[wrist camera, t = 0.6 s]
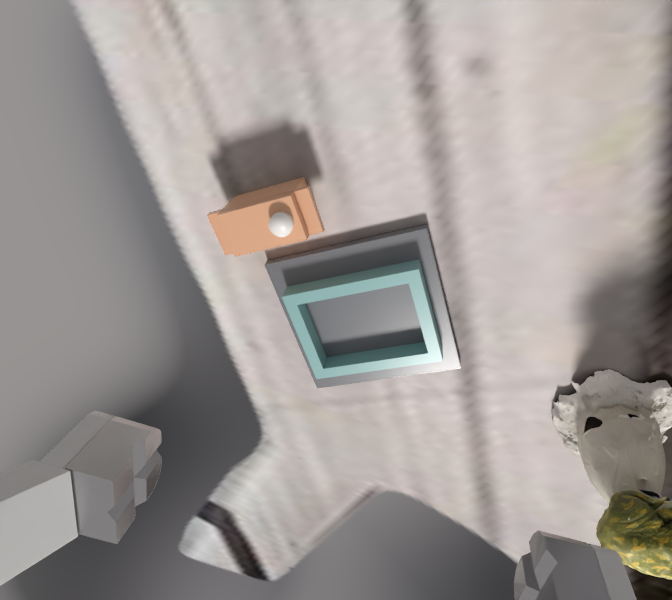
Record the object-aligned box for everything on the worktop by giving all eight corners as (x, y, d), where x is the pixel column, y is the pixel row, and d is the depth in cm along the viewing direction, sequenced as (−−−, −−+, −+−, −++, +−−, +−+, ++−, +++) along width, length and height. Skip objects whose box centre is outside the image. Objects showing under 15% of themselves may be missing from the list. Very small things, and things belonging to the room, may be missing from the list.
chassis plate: (267, 260, 49) (258, 274, 46) (426, 224, 44) (426, 237, 42) (319, 382, 56) (313, 400, 54) (460, 362, 52) (461, 381, 49)
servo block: (223, 198, 46) (199, 222, 42) (317, 172, 44) (303, 195, 39) (240, 236, 48) (218, 263, 43) (331, 214, 45) (319, 240, 41)
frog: (644, 459, 54) (720, 624, 40) (535, 437, 55) (572, 590, 41) (694, 386, 48) (804, 548, 34) (572, 362, 49) (629, 511, 35)
